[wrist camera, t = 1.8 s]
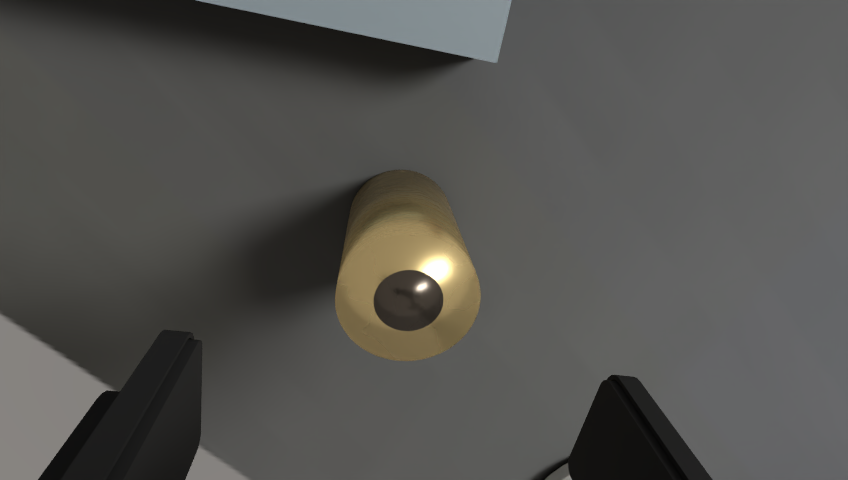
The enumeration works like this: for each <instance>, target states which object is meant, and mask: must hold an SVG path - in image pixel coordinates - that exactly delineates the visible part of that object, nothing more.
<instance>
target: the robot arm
mask: <svg viewBox="0 0 848 480" xmlns="http://www.w3.org/2000/svg"><path fill="white" fill-rule="evenodd" d="M201 386H202V342H201V341H200V340H194V336H193V333H191V332H181V331H171V330H163V331H162V332H161V333H160V334H159V336H158V337H157V339H156V340H155V341H154V343H153V344H152V346H151V347H150V349H149V350H148V352H147V353H146V355H145V356H144V358H143V359H142V361H141V362H140V363H139V365H138V366H137V368H136V369H135V371H134V372H133V374H132V375H131V377H130V378H129V380H128V381H127V383H126V384H125V386H124V387H123V388H122V390H121V391H120V392H118V391H105V392H104V393H102V394H101V395H100V396H99V397H98V398H97V399H96V401H95V402H94V404H93V405H92V406H91V408H90V409H89V411H88V412H87V413H86V415H85V416H84V417H83V419H82V420H81V421H80V423H79V424H78V426H77V427H76V428H75V430H74V431H73V432H72V434H71V435H70V437H69V438H68V439H67V441H66V442H65V443H64V445H63V446H62V448H61V449H60V450H59V452H58V453H57V454H56V456H55V457H54V459H53V460H52V461H51V463H50V464H49V465H48V467H47V468H46V469H45V471H44V472H43V474H42V475H41V476H40V478H39V479H38V480H185V479H186V476H187V474H188V471H189V469H190V466H191V464H192V462H193V459H194V456H195V454H196V452H197V449H198V446H199V441H200V436H201ZM545 480H712V478H711V477H710V476H709V474H708V473H707V472H706V470H705V469H704V468H703V466H702V465H701V463H700V462H699V461H698V459H697V458H696V457H695V455H694V454H693V453H692V451H691V450H690V449H689V447H688V446H687V444H686V443H685V442H684V440H683V439H682V438H681V436H680V435H679V434H678V432H677V431H676V430H675V428H674V427H673V425H672V424H671V423H670V421H669V420H668V419H667V417H666V416H665V415H664V413H663V412H662V411H661V409H660V408H659V406H658V405H657V404H656V402H655V401H654V400H653V398H652V397H651V396H650V394H649V393H648V392H647V390H646V389H645V387H644V386H643V385H642V383H641V382H640V381H639V380H638V379H637V378H635V377H630V376H620V375H611V376H610V377H608V379H607V380H604V381H603V382H602V383H601V385H600V387H599V389H598V392H597V394H596V396H595V399H594V401H593V403H592V406H591V408H590V410H589V413H588V415H587V417H586V420H585V422H584V424H583V427H582V429H581V431H580V434H579V436H578V438H577V441H576V443H575V445H574V447H573V450H572V452H571V454H570V457H569V460H568V463H567V464H565V465H563V466H561V467H560V468H559V469H557V470H556V471H554V472H553V473H552V474H550V475H549V476H548V477H547V478H546V479H545Z"/></svg>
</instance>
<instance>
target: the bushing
mask: <svg viewBox="0 0 848 480" xmlns="http://www.w3.org/2000/svg"><path fill="white" fill-rule="evenodd" d="M480 296H481V293H480V285H479V281H478V277H477V275H476V272H475V269H474V267H473V264H472V262H471V259H470V257H469V254H468V252H467V249H466V246H465V244H464V241H463V239H462V236H461V234H460V231H459V228H458V226H457V223H456V221H455V218H454V216H453V213H452V210H451V208H450V205H449V203H448V200H447V198H446V196H445V194H444V193H443V191H442V190H441V188H440V187H439V186H438V185H437V184H436V183H435V182H434V181H432V180H431V179H430V178H428V177H426V176H424V175H423V174H420V173H417V172H414V171H409V170H393V171H388V172H384V173H381V174H379V175H377V176H375V177H373V178H372V179H370V180H369V181H367V182H366V183H365V184H364V185H363V186H362V187H361V188H360V190H359V191H358V192H357V194H356V196H355V198H354V200H353V202H352V205H351V209H350V215H349V220H348V226H347V231H346V237H345V242H344V248H343V253H342V259H341V264H340V270H339V275H338V281H337V286H336V292H335V306H336V312H337V316H338V319H339V321H340V324H341V325H342V327H343V329H344V331H345V332H346V333H347V335H348V336H349V337H350V338H351V339H352V340H353V341H354V342H355V343H356V344H357V345H359V346H360V347H361V348H363V349H364V350H366V351H368V352H370V353H371V354H374V355H376V356H379V357H382V358H386V359H390V360H397V361H414V360H420V359H425V358H429V357H432V356H435V355H437V354H440V353H442V352H444V351H446V350H447V349H449V348H451V347H452V346H453V345H455V344H456V343H457V342H458V341H460V340H461V339H462V338H463V337H464V335H465V334H466V333H467V332H468V331H469V329H470V328H471V326H472V325H473V323H474V321H475V319H476V316H477V313H478V310H479V306H480Z"/></svg>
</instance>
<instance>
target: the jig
mask: <svg viewBox="0 0 848 480" xmlns="http://www.w3.org/2000/svg"><path fill="white" fill-rule="evenodd" d="M197 1H201V2H206V3H211V4H216V5H221V6H225V7H230V8H235V9H240V10H245V11H249V12H254V13H259V14H264V15H269V16H273V17H278V18H283V19H288V20H293V21H297V22H302V23H307V24H312V25H317V26H321V27H326V28H331V29H336V30H341V31H345V32H350V33H355V34H360V35H365V36H369V37H374V38H379V39H384V40H389V41H393V42H398V43H403V44H408V45H413V46H417V47H422V48H427V49H432V50H437V51H441V52H446V53H451V54H456V55H461V56H465V57H470V58H475V59H480V60H485V61H489V62H494V63H497V60H498V56H499V52H500V47H501V43H502V39H503V35H504V31H505V26H506V22H507V18H508V14H509V9H510V5H511V1H512V0H197Z"/></svg>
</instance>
